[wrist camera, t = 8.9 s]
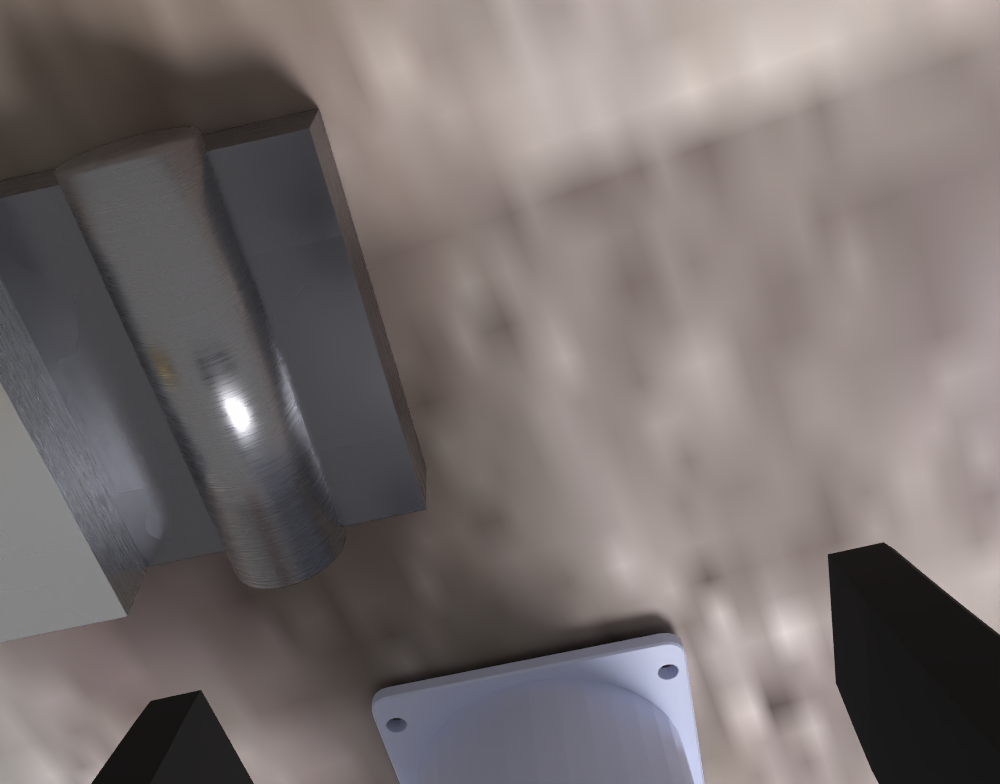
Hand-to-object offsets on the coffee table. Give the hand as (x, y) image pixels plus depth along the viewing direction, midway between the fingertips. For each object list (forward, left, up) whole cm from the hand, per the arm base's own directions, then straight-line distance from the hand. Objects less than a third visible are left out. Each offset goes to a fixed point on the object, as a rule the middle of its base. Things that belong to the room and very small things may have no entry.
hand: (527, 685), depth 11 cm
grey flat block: (+1, +9, -10) cm, 13 cm away
